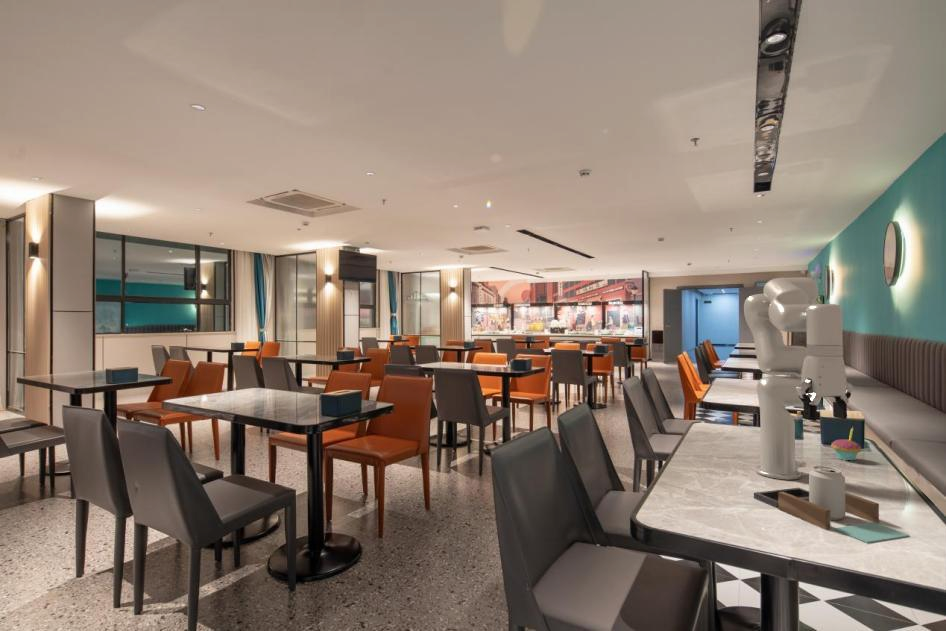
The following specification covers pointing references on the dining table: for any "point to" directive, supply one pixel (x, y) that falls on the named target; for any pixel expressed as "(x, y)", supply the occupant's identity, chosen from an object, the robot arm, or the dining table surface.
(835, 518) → the can
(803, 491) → the tray
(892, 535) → the pad
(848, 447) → the cupcake
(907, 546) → the dining table surface
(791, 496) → the wooden corridor walls
